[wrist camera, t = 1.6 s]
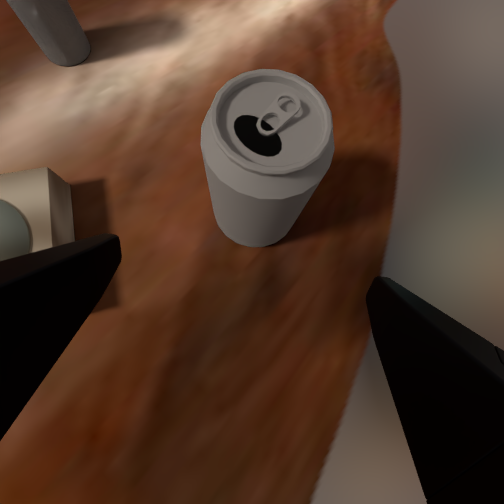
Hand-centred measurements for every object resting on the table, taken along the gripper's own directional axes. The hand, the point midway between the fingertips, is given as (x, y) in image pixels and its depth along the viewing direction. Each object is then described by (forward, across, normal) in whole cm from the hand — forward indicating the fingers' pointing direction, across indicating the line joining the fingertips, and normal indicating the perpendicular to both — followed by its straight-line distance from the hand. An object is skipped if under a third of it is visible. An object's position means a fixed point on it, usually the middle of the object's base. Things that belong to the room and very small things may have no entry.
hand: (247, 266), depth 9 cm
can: (+16, 0, +4) cm, 16 cm away
